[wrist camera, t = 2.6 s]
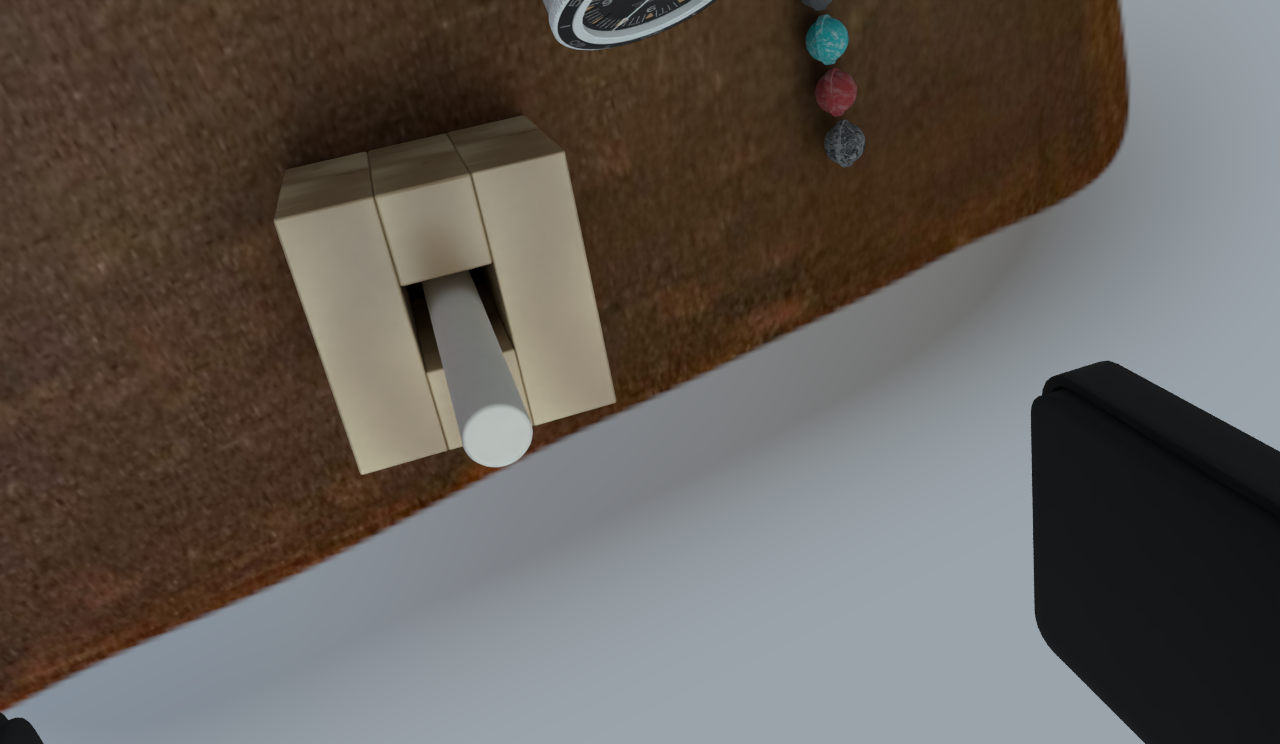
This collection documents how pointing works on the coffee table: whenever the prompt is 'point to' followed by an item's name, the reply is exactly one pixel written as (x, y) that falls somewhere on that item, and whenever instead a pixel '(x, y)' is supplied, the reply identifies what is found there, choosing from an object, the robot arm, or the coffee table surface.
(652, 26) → the watch
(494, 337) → the white rod
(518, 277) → the pen block
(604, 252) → the coffee table surface
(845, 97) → the beads
